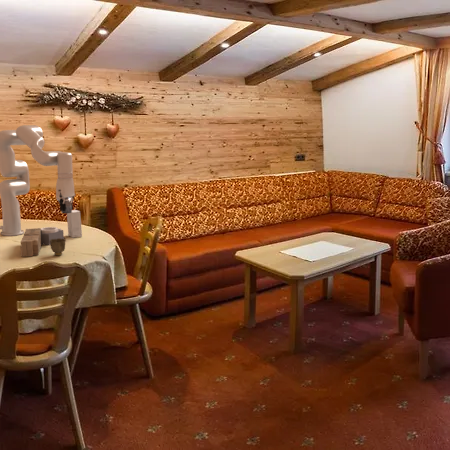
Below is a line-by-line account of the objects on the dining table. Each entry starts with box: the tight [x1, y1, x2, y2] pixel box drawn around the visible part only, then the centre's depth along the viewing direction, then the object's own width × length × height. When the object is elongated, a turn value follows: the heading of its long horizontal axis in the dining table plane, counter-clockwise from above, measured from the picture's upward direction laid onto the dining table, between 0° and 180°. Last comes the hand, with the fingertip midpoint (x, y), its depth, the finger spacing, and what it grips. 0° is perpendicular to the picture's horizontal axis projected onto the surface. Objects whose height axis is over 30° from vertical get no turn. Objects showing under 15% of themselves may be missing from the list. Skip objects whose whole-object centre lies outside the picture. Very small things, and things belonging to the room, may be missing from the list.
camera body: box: [41, 226, 64, 246], centre depth 276 cm, size 9×12×8 cm
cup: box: [49, 238, 66, 257], centre depth 249 cm, size 8×7×8 cm
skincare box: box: [66, 209, 83, 239], centre depth 291 cm, size 8×6×15 cm
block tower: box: [20, 227, 42, 257], centre depth 259 cm, size 8×8×29 cm
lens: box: [60, 197, 73, 214], centre depth 268 cm, size 6×5×8 cm
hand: (66, 209), depth 269 cm, fingers closed on lens, 5 cm apart
